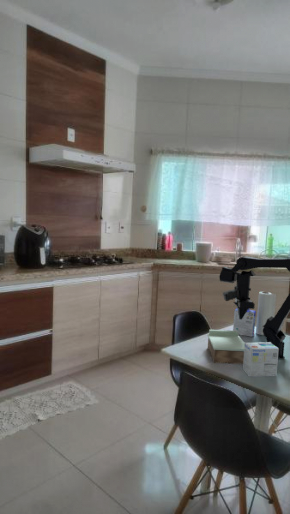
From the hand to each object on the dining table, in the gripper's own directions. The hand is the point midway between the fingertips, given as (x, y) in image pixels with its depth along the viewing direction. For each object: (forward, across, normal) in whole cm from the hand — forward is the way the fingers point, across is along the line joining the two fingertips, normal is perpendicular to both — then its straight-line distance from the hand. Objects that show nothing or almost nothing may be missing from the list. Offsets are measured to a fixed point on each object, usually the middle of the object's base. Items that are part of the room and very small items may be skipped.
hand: (240, 319), depth 153 cm
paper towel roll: (+13, -19, +17) cm, 28 cm away
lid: (+7, +12, -8) cm, 16 cm away
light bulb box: (+13, +27, +1) cm, 30 cm away
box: (+12, +12, -8) cm, 19 cm away
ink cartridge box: (+13, -18, +7) cm, 23 cm away
